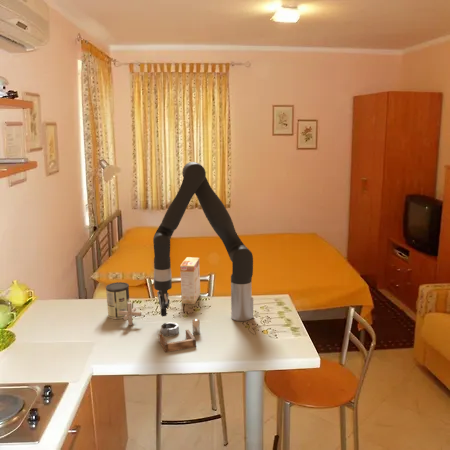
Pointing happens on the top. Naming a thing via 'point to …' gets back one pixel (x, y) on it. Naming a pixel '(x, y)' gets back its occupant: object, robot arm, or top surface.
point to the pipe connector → (129, 313)
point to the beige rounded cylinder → (196, 326)
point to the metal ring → (170, 329)
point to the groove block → (178, 343)
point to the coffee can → (117, 299)
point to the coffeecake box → (190, 280)
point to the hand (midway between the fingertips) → (163, 315)
